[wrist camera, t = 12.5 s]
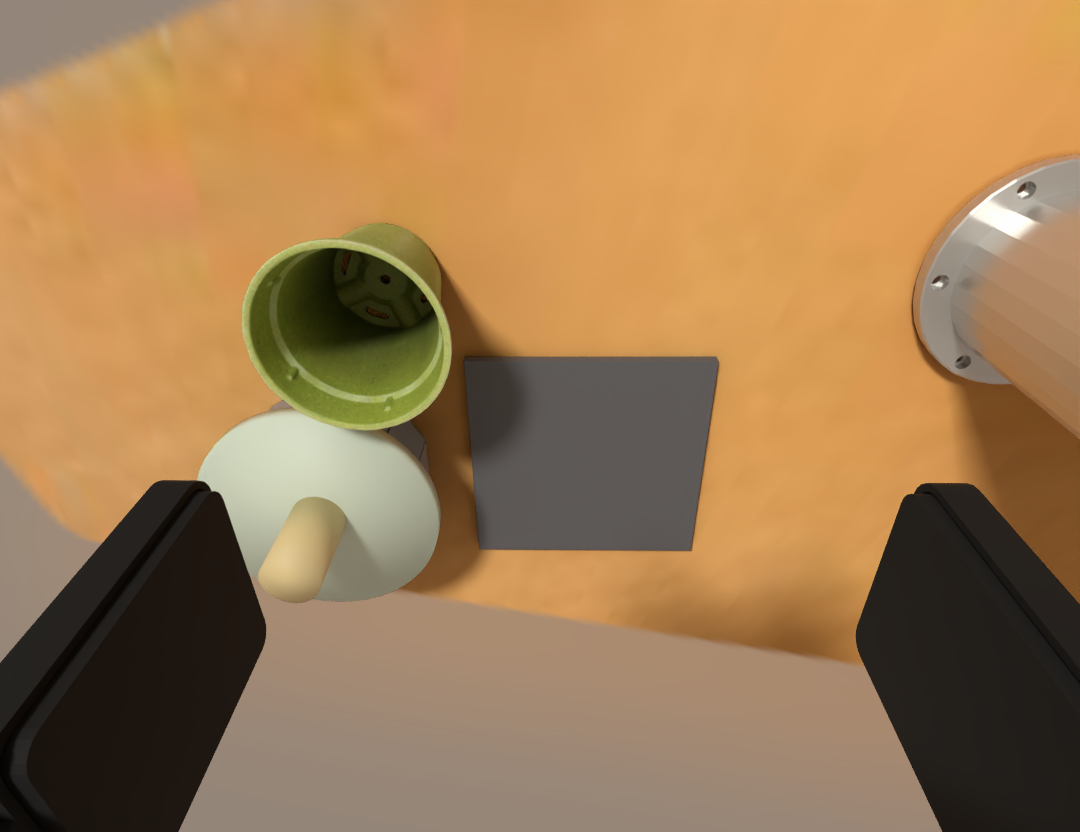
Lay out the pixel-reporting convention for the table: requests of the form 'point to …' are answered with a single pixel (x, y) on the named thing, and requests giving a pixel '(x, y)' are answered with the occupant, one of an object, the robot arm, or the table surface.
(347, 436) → the lid
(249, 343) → the plant pot
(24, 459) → the table surface
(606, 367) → the mat
